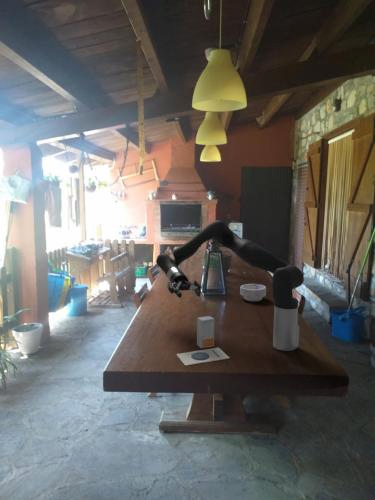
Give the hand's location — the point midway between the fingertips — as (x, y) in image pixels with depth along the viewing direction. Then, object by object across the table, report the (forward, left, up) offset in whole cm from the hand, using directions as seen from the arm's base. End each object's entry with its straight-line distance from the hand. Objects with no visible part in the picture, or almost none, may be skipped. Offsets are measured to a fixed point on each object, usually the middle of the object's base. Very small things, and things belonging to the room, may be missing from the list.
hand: (190, 295), depth 156 cm
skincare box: (-3, +9, -20) cm, 22 cm away
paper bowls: (-56, -44, -20) cm, 74 cm away
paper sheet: (+2, +18, -19) cm, 27 cm away
